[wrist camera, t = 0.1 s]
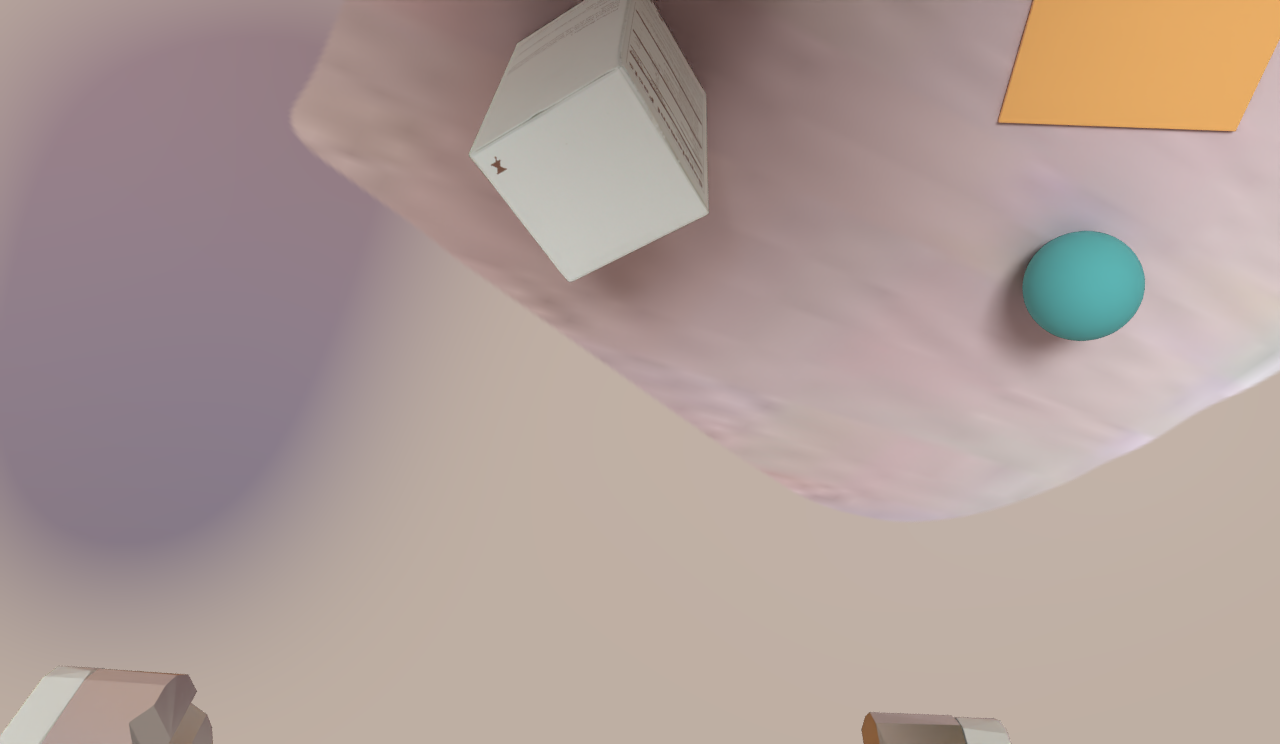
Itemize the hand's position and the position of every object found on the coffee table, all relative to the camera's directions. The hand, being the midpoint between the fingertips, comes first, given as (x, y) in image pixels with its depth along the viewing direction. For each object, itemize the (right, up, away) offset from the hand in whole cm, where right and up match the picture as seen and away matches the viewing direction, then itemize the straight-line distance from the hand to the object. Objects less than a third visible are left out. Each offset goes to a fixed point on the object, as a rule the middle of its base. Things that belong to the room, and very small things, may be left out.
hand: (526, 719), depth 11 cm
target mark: (+26, +22, +31) cm, 46 cm away
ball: (+26, +9, +37) cm, 46 cm away
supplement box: (0, +20, +34) cm, 40 cm away
